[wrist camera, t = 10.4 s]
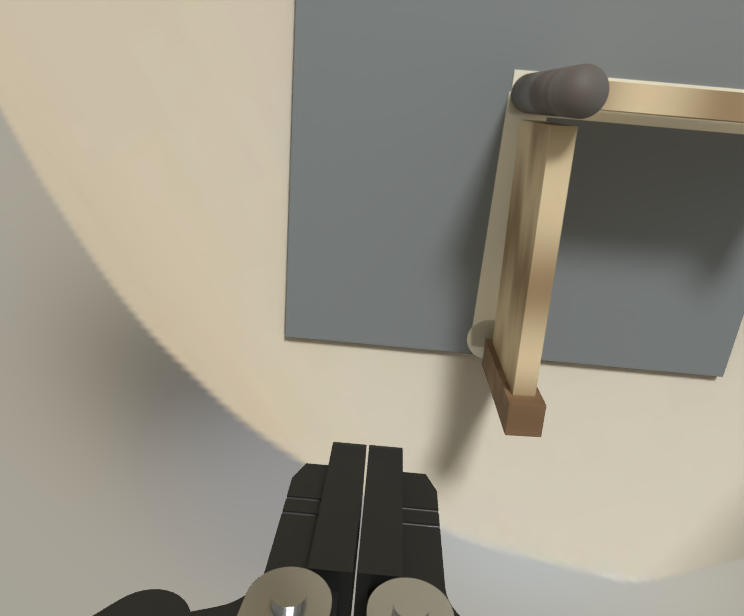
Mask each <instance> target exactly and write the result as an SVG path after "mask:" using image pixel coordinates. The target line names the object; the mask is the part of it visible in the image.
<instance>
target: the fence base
mask: <svg viewBox="0 0 744 616" xmlns="http://www.w3.org/2000/svg"><path fill="white" fill-rule="evenodd" d="M511 98H512V102H513V104H514V106H515V107H516V108H517V109H518V110H519V111H521V112H524V113H531V114H539V115H548V116H556V117H565V118H573V119H585V118H588V117H591V116H593V115H595V114H596V113H597V112H598V111H611V112H622V113H633V114H645V115H656V116H667V117H679V118H690V119H701V120H713V121H724V122H735V123H744V93H741V92H730V91H718V90H707V89H695V88H684V87H673V86H661V85H650V84H638V83H627V82H616V81H608V78H607V76H606V74H605V72H604V71H603V70H602V69H601V68H599V67H598V66H596V65H593V64H586V63H585V64H578V65H573V66H567V67H562V68H556V69H551V70H545V71H540V72H535V73H529V74H525V75H523V76H521V77H520V78H519V79H518V80H517V81H516V82H515V84H514V85H513V88H512V92H511Z"/></svg>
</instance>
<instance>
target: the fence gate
mask: <svg viewBox="0 0 744 616" xmlns="http://www.w3.org/2000/svg"><path fill="white" fill-rule="evenodd" d="M577 129H578V126H572V125H565V124H559V123H553V122H546V121H537V120H520V126H519V134H518V142H517V150H516V158H515V166H514V174H513V182H512V190H511V198H510V206H509V214H508V222H507V230H506V238H505V246H504V254H503V263H502V271H501V279H500V287H499V295H498V303H497V311H496V319H495V327H494V335H493V339H486V338H485V346H484V354H483V363H482V365H483V368H484V371H485V374H486V377H487V381H488V384H489V387H490V390H491V393H492V396H493V399H494V402H495V405H496V408H497V412H498V415H499V418H500V421H501V424H502V427H503V430H504V433H505V435H514V436H532V437H541V434H542V428H543V422H544V416H545V410H546V404H545V402H544V400H543V398H542V396H541V394H540V392H539V390H538V388H537V381H538V375H539V369H540V363H541V356H542V350H543V344H544V337H545V331H546V325H547V318H548V312H549V306H550V299H551V293H552V287H553V280H554V274H555V268H556V261H557V255H558V249H559V242H560V236H561V230H562V223H563V217H564V211H565V204H566V198H567V192H568V185H569V179H570V173H571V166H572V160H573V154H574V147H575V141H576V135H577Z"/></svg>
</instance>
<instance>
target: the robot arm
mask: <svg viewBox="0 0 744 616" xmlns="http://www.w3.org/2000/svg"><path fill="white" fill-rule="evenodd" d="M365 459H366V445H362V444H351V443H340V442H333V446H332V451H331V456H330V461H329V465H319V464H308V463H306V464H305V465H304V466H303V467H302V468H301V469H300V470H299V471H298V473H296V474H295V475H294V477H293V478H292V480H291V484H290V487H289V491H288V494H287V499H286V501H285V505H284V508H283V513H282V515H281V518H280V522H279V525H278V528H277V532H276V535H275V538H274V542H273V545H272V549H271V552H270V555H269V559H268V563H267V566H266V569H265V572H264V574H263V575H262V576H261V577H259V578H258V579H257V580H255V581H254V582H253V583H252V585H251V586H250V587H249V589H248V591H247V593H246V595H245V596H243V597H242V598H240V599H238V600H236V601H234V602H231V603H229V604H226V605H222V606H218V607H213V608H208V609H203V610H197V611H192V612H190V609H189V607H188V605H187V603H186V602H185V601H184V600H183V599H182V598H181V597H180V596H179V595H177V594H175V593H173V592H170V591H167V590H160V589H150V590H143V591H139V592H135V593H133V594H130V595H128V596H126V597H124V598H122V599H120V600H118V601H117V602H115V603H113V604H111V605H110V606H108V607H107V608H105V609H103V610H102V611H100V612H98V613H97V614H95V615H93V616H351V610H352V600H353V589H354V580H355V570H356V560H357V549H358V540H359V529H360V519H361V508H362V496H363V483H364V471H365ZM439 527H440V523H439V513H438V500H437V491H436V489H435V488H434V486H433V485H432V483H431V482H430V480H429V479H428V477H427V476H426V474H418V473H407V472H403V449H402V448H397V447H386V446H375V445H369V455H368V465H367V476H366V486H365V496H364V507H363V517H362V528H361V538H360V549H359V560H358V569H357V581H356V593H355V605H354V616H460V615H459V614H458V613H456V611H455V610H454V608H453V607H452V605H451V604H450V602H449V600H448V597H447V595H446V590H445V581H444V569H443V559H442V547H441V535H440V529H439Z"/></svg>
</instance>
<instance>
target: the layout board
mask: <svg viewBox="0 0 744 616" xmlns="http://www.w3.org/2000/svg"><path fill="white" fill-rule="evenodd" d="M585 63H586V64H593V65H596V66H598V67H599V68H601V69H602V70H603V71H604V72H605V74H606V76H607V78H608V81H616V82H627V83H638V84H650V85H661V86H673V87H684V88H695V89H707V90H718V91H730V92H741V93H744V0H296V10H295V42H294V73H293V104H292V135H291V167H290V198H289V229H288V260H287V292H286V323H285V337H296V338H307V339H318V340H328V341H339V342H350V343H361V344H372V345H383V346H394V347H404V348H415V349H426V350H437V351H448V352H459V353H470V354H474V355H476V356H477V357H479V358H483V354H484V346H485V338H486V339H493V335H494V327H495V319H496V311H497V303H498V295H499V287H500V279H501V271H502V263H503V254H504V246H505V238H506V230H507V222H508V214H509V206H510V198H511V190H512V182H513V174H514V166H515V158H516V150H517V142H518V134H519V126H520V120H537V121H546V122H553V123H559V124H565V125H572V126H578V129H577V135H576V141H575V147H574V154H573V160H572V166H571V173H570V179H569V185H568V192H567V198H566V204H565V211H564V217H563V223H562V230H561V236H560V242H559V249H558V255H557V261H556V268H555V274H554V280H553V287H552V293H551V299H550V306H549V312H548V318H547V325H546V331H545V337H544V344H543V350H542V356H541V360H545V361H556V362H567V363H578V364H589V365H600V366H611V367H621V368H632V369H643V370H654V371H665V372H676V373H686V374H697V375H708V376H719V377H723V375H724V372H725V369H726V366H727V363H728V360H729V357H730V354H731V351H732V348H733V345H734V342H735V339H736V336H737V333H738V330H739V327H740V324H741V321H742V318H743V315H744V123H735V122H724V121H713V120H701V119H690V118H679V117H667V116H656V115H645V114H633V113H622V112H611V111H598V112H597V113H596V114H595V115H593V116H591V117H588V118H585V119H573V118H565V117H556V116H548V115H539V114H531V113H524V112H521V111H519V110H518V109H517V108H516V107H515V106H514V104H513V102H512V98H511V92H512V88H513V85H514V84H515V82H516V81H517V80H518V79H519V78H520V77H521V76H523V75H525V74H529V73H535V72H540V71H545V70H551V69H556V68H562V67H567V66H573V65H578V64H585Z"/></svg>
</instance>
